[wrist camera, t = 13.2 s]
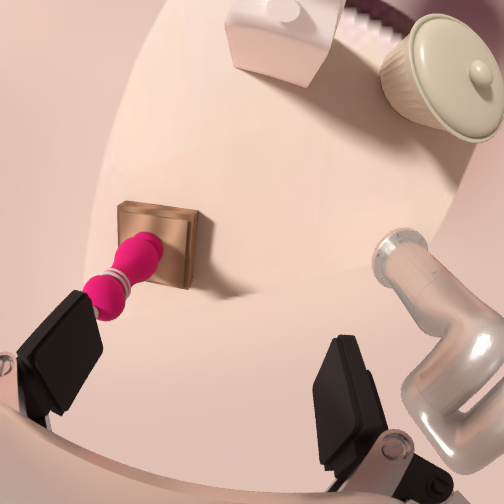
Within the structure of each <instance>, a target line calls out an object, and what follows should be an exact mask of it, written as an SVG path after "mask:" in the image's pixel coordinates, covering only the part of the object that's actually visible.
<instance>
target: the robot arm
mask: <svg viewBox="0 0 504 504" xmlns="http://www.w3.org/2000/svg"><path fill="white" fill-rule="evenodd" d="M372 268H373V273H374V275H375V277H376V279H377V280H378V281H379V283H380V284H382V285H383V286H385V287H388V288H393V289H394V291H395V292H396V293H397V295H398V296H399V298H400V300H401V301H402V302H403V304H404V305H405V307H406V308H407V310H408V311H409V313H410V315H411V316H412V318H413V319H414V321H415V322H416V324H417V325H418V327H419V328H420V329H421V330H422V331H423V332H424V333H426V334H428V335H430V336H434V337H441V340H440V341H439V342H438V343H437V345H436V346H435V348H434V349H433V350H432V351H431V352H430V353H429V354H428V355H427V356H426V357H425V359H424V360H423V361H422V362H421V363H420V364H419V365H418V366H417V367H416V368H415V369H414V370H413V371H412V372H411V373H410V374H409V375H408V376H407V377H406V379H405V380H404V382H403V384H402V387H401V397H402V401H403V404H404V406H405V407H406V409H407V411H408V413H409V414H410V415H411V417H412V418H413V420H414V421H415V423H416V424H417V425H418V427H419V428H420V429H421V431H422V432H423V434H424V435H425V436H426V438H427V439H428V440H429V442H430V443H431V445H432V446H433V447H434V449H435V450H436V451H437V453H438V454H439V456H440V457H441V459H442V460H443V461H444V462H445V464H446V465H447V466H448V467H449V468H450V469H451V470H453V471H454V472H456V473H458V474H461V475H470V474H473V473H475V472H477V471H479V470H481V469H483V468H484V467H485V466H487V465H488V464H490V463H491V462H493V461H494V460H495V459H496V458H498V457H499V456H500V455H502V454H504V377H503V378H502V379H501V380H500V381H499V382H498V383H497V384H496V385H495V386H494V387H493V388H492V389H491V390H490V391H489V392H488V393H487V394H486V395H485V396H484V397H483V398H482V399H481V400H480V401H479V402H478V403H476V404H475V405H474V406H473V407H472V408H471V409H470V410H469V411H468V412H466V413H463V412H460V411H459V410H458V409H459V408H460V407H461V406H462V405H464V404H465V403H466V402H467V401H468V400H469V399H470V398H471V397H472V396H473V395H474V394H476V393H477V392H478V391H479V390H480V389H481V388H482V387H483V386H484V385H485V384H486V383H487V382H488V381H489V380H490V379H491V378H492V377H493V375H494V374H495V373H496V372H497V371H498V370H499V368H500V367H501V366H502V364H503V363H504V318H503V317H502V316H501V315H500V314H499V313H497V312H496V311H495V310H493V309H492V308H491V307H489V306H488V305H487V304H485V303H484V302H482V301H481V300H480V299H479V298H478V297H476V296H475V295H474V294H473V293H472V292H471V291H470V290H468V288H466V287H465V286H464V285H463V284H462V283H461V282H460V281H459V280H458V279H457V278H456V277H455V276H454V275H453V274H452V273H451V272H450V271H449V270H448V269H447V268H445V266H443V265H442V264H441V263H440V262H439V261H438V260H437V259H436V258H435V257H434V256H433V255H431V254H430V253H429V252H428V247H427V243H426V241H425V239H424V238H423V237H422V235H421V234H419V233H418V232H417V231H415V230H412V229H409V228H403V229H398V230H395V231H393V232H391V233H390V234H388V235H387V236H386V237H384V238H383V239H382V241H381V242H380V243H379V244H378V246H377V248H376V250H375V252H374V255H373V259H372ZM102 352H103V344H102V341H101V337H100V334H99V330H98V326H97V322H96V317H95V313H94V309H93V304H92V300H91V298H90V297H89V295H88V294H87V293H85V292H81V291H78V290H74V291H72V292H71V293H70V294H69V295H68V296H67V297H66V298H65V299H64V300H63V301H62V302H61V303H60V305H58V306H57V307H56V308H55V310H54V311H53V312H52V313H51V314H50V315H49V316H48V317H47V318H46V319H45V320H44V321H43V322H42V323H41V324H40V326H39V327H38V328H37V329H36V330H35V331H34V332H33V333H32V334H31V336H30V337H29V338H28V339H27V340H26V341H25V342H24V343H23V345H22V346H21V347H20V348H19V349H18V351H17V352H16V353H17V355H18V357H17V358H15V356H14V355H13V354H12V353H9V352H2V353H0V504H470V503H469V502H468V501H467V500H466V499H465V498H464V496H463V495H462V494H461V493H460V492H459V491H458V490H457V491H455V492H454V491H453V487H454V483H453V480H452V477H451V475H450V474H449V473H447V472H446V471H444V470H443V469H441V468H439V467H437V466H435V465H434V464H432V463H430V462H429V461H427V460H425V459H423V458H422V457H420V456H418V455H417V454H415V453H414V443H413V440H412V438H411V437H410V436H409V435H408V434H407V433H405V432H404V431H401V430H398V429H390V430H389V429H388V426H387V423H386V419H385V415H384V412H383V409H382V405H381V402H380V399H379V396H378V392H377V389H376V386H375V383H374V380H373V377H372V374H371V372H370V371H369V370H366V367H365V364H364V361H363V358H362V355H361V353H360V349H359V347H358V344H357V341H356V338H355V336H353V335H338V337H337V338H333V339H332V342H331V344H330V347H329V349H328V351H327V354H326V356H325V359H324V361H323V364H322V366H321V368H320V370H319V373H318V375H317V377H316V379H315V381H314V384H313V400H314V409H315V418H316V428H317V438H318V448H319V460H320V464H322V465H324V466H325V467H324V468H325V471H333V470H334V475H335V478H336V479H335V481H333V483H332V484H331V485H330V486H329V488H328V489H327V490H326V491H325V492H324V493H272V492H254V491H243V490H233V489H225V488H218V487H211V486H205V485H200V484H194V483H190V482H185V481H180V480H176V479H172V478H168V477H164V476H160V475H156V474H153V473H149V472H146V471H143V470H140V469H136V468H133V467H130V466H128V465H125V464H122V463H119V462H116V461H114V460H111V459H109V458H106V457H104V456H101V455H99V454H96V453H94V452H91V451H89V450H87V449H85V448H83V447H81V446H78V445H76V444H74V443H72V442H70V441H68V440H66V439H64V438H62V437H60V436H59V435H57V434H55V433H53V432H52V429H51V424H50V420H49V415H48V413H49V412H50V410H51V411H52V412H54V413H56V414H58V415H60V416H62V415H63V413H64V411H67V410H68V409H69V408H70V406H71V404H72V403H73V401H74V399H75V397H76V396H77V394H78V392H79V390H80V389H81V387H82V385H83V384H84V382H85V380H86V379H87V377H88V375H89V374H90V372H91V370H92V369H93V367H94V366H95V364H96V362H97V361H98V359H99V357H100V356H101V354H102Z"/></svg>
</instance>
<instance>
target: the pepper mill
mask: <svg viewBox="0 0 504 504" xmlns="http://www.w3.org/2000/svg"><path fill="white" fill-rule="evenodd" d="M162 255H163V246H162V244H161V242H160V240H159V239H158V238H157V237H156V236H155V235H154V234H152V233H150V232H139V233H137V234H136V235H134V236H133V237H131V238H128V239H126V240H125V241H123V242H122V243H121V245H120V246H119V247H118V249H117V251H116V254H115V258H114V263H113V265H112V267H111V268H107V269H105V270H103V272H102V273H101V274H100V275H97V276H94V277H92V278H91V279H89V281H88V282H87V283H86V284H85V286H84V288H83V291H82V292H85V293H87V294H88V295H89V297H90V298H91V300H92V304H93V309H94V313H95V317H96V319H98V320H101V321H111V320H114V319H116V318H117V317H118V316H119V315H120V314H121V313H122V311H123V310H124V307H125V301H126V299H127V297H128V296H129V295H130V293H131V287H132V286H133V285H134V284H136V283H139V282H143V281H145V280H147V279H149V278H150V277H151V276H152V275H153V274H154V273H155V271H156V270H157V267H158V262H159V261H160V260H161V258H162Z"/></svg>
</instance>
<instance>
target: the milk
mask: <svg viewBox="0 0 504 504" xmlns="http://www.w3.org/2000/svg"><path fill="white" fill-rule="evenodd" d="M345 2H346V0H233V1H232V4H231V6H230V9H229V11H228V14H227V17H226V20H225V30H226V35H227V39H228V43H229V48H230V52H231V56H232V61H233V65H234V67H236V68H240V69H244V70H248V71H252V72H256V73H259V74H263V75H267V76H270V77H273V78H277V79H280V80H283V81H286V82H289V83H292V84H295V85H298V86H301V87H304V88H307V87H308V85H309V84H310V82H311V81H312V79H313V77H314V76H315V74H316V73H317V71H318V70H319V68H320V66H321V65H322V63H323V62H324V60H325V59H326V57H327V55H328V53H329V50H330V47H331V44H332V41H333V38H334V35H335V32H336V29H337V26H338V23H339V20H340V17H341V14H342V11H343V8H344V5H345Z"/></svg>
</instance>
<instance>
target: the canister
mask: <svg viewBox="0 0 504 504" xmlns="http://www.w3.org/2000/svg"><path fill="white" fill-rule="evenodd" d="M380 74H381V76H380V80H381V85H382V90H383V92H384V94H385V96H386V98H387V101H388V102H389V103H390V104H391V106H392V107H393V108H394V109H395V111H397V112H398V113H399V114H400V115H401V116H404V117H405V118H406V119H408V120H410V121H412V122H415V123H418V124H421V125H425V126H428V127H432V128H435V129H439V130H443V131H446V132H449V133H451V134H452V135H453V136H455V137H457V138H458V139H460V140H463V141H465V142H469V143H482V142H485V141H488V140H489V139H491V138H492V137H493V136H494V135H495V134H496V133H497V132H498V130H499V129H500V127H501V124H502V122H503V119H504V83H503V79H502V75H501V72H500V70H499V67H498V65H497V63H496V61H495V59H494V57H493V55H492V53H491V52H490V50H489V49H488V47H487V46H486V44H485V43H484V42H483V40H482V39H481V38H480V37H479V36H478V35H477V34H476V33H475V32H474V31H473V30H472V29H471V28H469V27H468V26H467V25H465V24H464V23H462V22H461V21H459V20H457V19H455V18H453V17H450V16H447V15H443V14H430V15H426V16H424V17H422V18H420V19H419V20H418V21H417V22H416V23H415V24H414V26H413V28H412V30H411V32H410V34H409V35H408V36H407V37H405V38H404V39H403V40H402V41H401V42H400V43H399V44H398V45H397V46H396V47H395V48H394V49H393V50H392V51H391V52H390V53H389V54H388V55H387V56H386V58H385V60H384V61H383V65H382V66H381V71H380Z"/></svg>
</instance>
